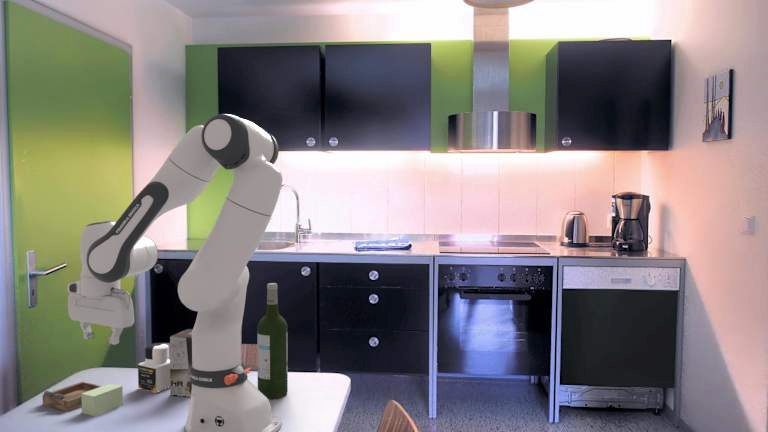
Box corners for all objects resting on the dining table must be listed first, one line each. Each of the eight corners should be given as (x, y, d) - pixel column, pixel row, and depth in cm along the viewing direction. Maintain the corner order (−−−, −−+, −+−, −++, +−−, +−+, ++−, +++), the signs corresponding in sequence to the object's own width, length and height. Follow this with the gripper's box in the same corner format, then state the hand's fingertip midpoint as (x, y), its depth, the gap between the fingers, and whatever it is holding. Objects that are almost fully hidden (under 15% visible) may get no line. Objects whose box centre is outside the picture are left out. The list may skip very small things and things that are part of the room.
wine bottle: (293, 391, 149) (293, 282, 148) (276, 401, 142) (275, 287, 141) (269, 387, 152) (269, 280, 151) (251, 396, 145) (250, 284, 144)
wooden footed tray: (107, 396, 145) (107, 382, 145) (66, 412, 134) (65, 397, 134) (82, 390, 149) (82, 377, 149) (40, 405, 139) (40, 390, 139)
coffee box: (191, 397, 144) (190, 337, 144) (169, 395, 146) (168, 336, 145) (208, 385, 153) (208, 329, 153) (188, 384, 155) (187, 327, 154)
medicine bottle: (137, 389, 151) (137, 346, 150) (159, 381, 157) (158, 340, 156) (155, 393, 147) (155, 349, 147) (176, 385, 154) (176, 343, 153)
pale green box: (122, 405, 139) (122, 386, 139) (94, 416, 132) (93, 396, 132) (110, 402, 141) (110, 383, 141) (81, 413, 134) (81, 393, 134)
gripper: (140, 288, 134) (141, 343, 134) (85, 281, 143) (86, 333, 143) (118, 292, 128) (118, 350, 129) (62, 284, 137) (63, 339, 138)
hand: (101, 341), depth 136 cm, fingers open, 8 cm apart
